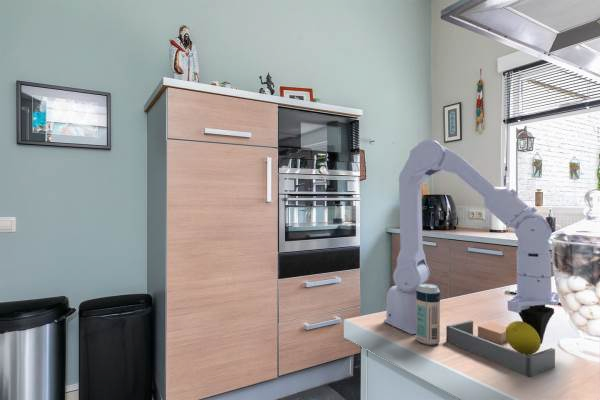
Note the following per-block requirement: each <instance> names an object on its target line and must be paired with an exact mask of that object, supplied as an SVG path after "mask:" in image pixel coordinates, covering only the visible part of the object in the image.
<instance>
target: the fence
mask: <svg viewBox="0 0 600 400" xmlns="http://www.w3.org/2000/svg"><path fill="white" fill-rule="evenodd" d="M445 338H446V340H445V341H446V342H448V343H451V344H452V345H455V346H457V347H460V348H461V349H464V350H467V351H469V352H471V353H474V354H476V355H478V356H480V357H482V358H485V359H488V360H490V361H492V362H494V363H497V364H500V365H501V366H504V367H506V368H508V369H511V370H513V371H515V372H518V373H520V374H522V375H525V376H527V377H529V378H531V377H532V376H535V375H538V374H541V373H544V372H545V371H548V370H551V369H553V368H555V367H556V349H555V348H552V347H550V348H547V349H543V350H542V351H539V352H538V351H537V352H536V353H533V354H529V355H526V354H522V353H519V352H517V351H516V350H514V349H512V348H508V347H506V346H503V345H500V344H499V343H496V342H494V341H491V340H488V339H485V338H482V337H479V336H478V335H475V334H474V321H473V320H467V321H466V320H465V321H463V322H458V323H453V324H450V325H446V335H445Z"/></svg>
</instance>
